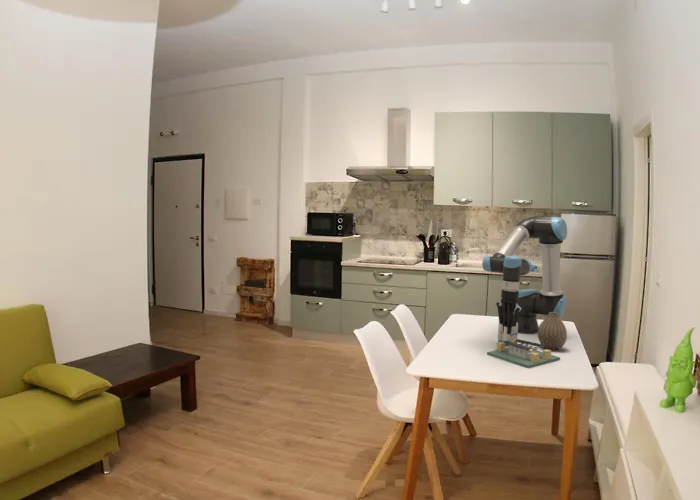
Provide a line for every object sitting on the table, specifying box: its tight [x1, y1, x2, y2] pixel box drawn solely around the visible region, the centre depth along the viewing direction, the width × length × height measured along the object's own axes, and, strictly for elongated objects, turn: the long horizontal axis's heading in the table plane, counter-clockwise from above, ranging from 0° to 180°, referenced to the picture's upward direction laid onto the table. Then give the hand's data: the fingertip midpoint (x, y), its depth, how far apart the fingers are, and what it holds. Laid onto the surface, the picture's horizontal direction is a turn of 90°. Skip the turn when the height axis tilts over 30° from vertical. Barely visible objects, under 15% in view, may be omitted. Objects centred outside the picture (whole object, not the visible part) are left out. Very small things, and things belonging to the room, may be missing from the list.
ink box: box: [497, 322, 519, 347], centre depth 241 cm, size 8×8×12 cm
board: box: [486, 341, 561, 369], centre depth 219 cm, size 23×22×5 cm
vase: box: [537, 312, 568, 351], centre depth 235 cm, size 13×13×18 cm
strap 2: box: [513, 338, 544, 348], centre depth 222 cm, size 3×14×1 cm, turn 34°
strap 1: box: [504, 341, 535, 352], centre depth 217 cm, size 3×14×1 cm, turn 34°
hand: (506, 340), depth 222 cm, fingers closed
